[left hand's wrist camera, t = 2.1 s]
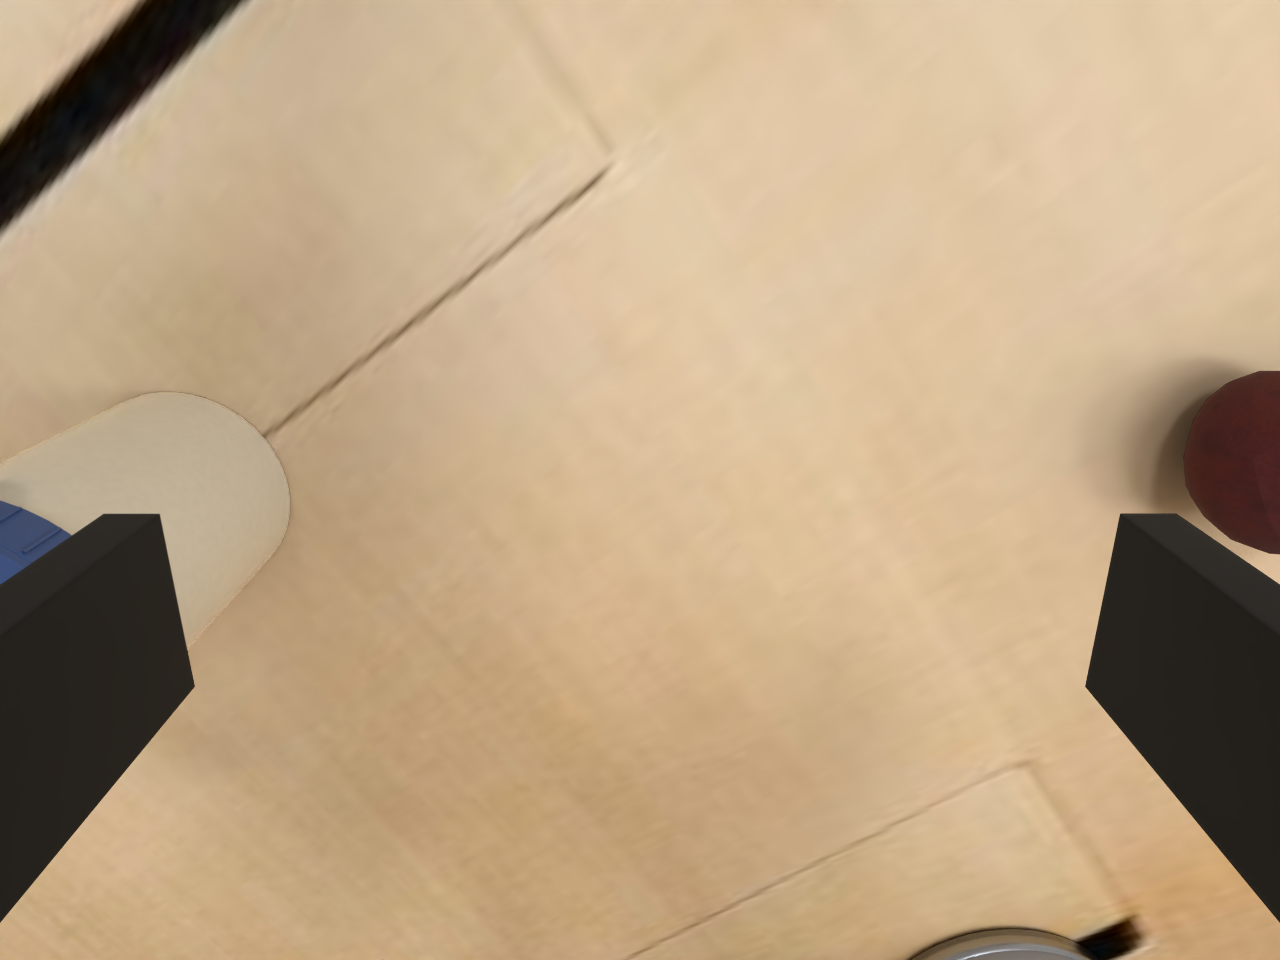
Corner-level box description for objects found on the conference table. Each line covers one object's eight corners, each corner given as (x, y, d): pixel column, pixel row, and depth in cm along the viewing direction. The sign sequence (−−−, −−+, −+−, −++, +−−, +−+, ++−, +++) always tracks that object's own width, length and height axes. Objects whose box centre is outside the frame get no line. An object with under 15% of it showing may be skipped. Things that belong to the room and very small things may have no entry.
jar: (268, 608, 44) (84, 838, 29) (68, 549, 43) (-227, 757, 28) (310, 431, 41) (126, 590, 26) (95, 362, 40) (-221, 487, 25)
